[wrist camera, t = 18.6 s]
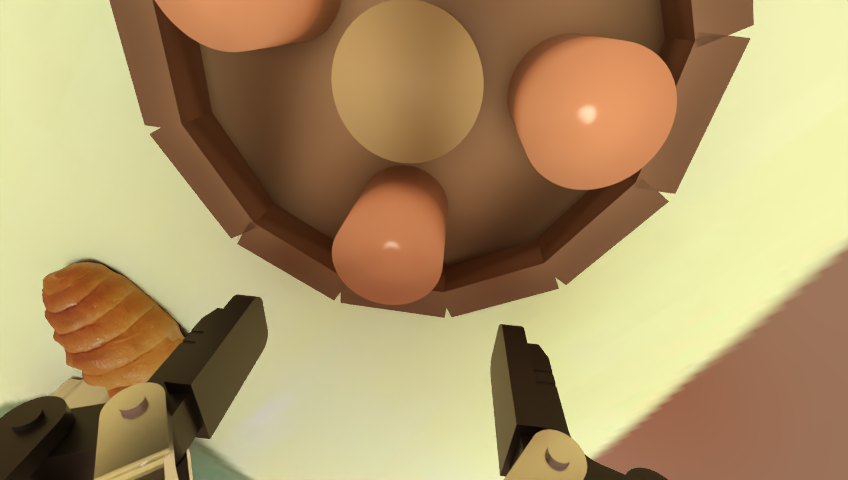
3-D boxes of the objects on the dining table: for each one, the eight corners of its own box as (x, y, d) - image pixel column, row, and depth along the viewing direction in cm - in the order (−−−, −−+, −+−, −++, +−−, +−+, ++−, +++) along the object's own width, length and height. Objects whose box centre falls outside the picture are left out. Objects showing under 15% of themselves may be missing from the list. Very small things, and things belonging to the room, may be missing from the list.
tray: (223, 248, 21) (182, 287, 18) (95, -355, 10) (-54, -503, 7) (586, 299, 20) (607, 348, 17) (833, -293, 10) (996, -431, 7)
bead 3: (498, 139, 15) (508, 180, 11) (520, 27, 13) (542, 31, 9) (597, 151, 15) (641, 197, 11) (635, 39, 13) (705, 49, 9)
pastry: (41, 268, 23) (-28, 308, 20) (124, 244, 22) (64, 285, 19) (139, 369, 28) (96, 417, 24) (214, 356, 26) (179, 405, 23)
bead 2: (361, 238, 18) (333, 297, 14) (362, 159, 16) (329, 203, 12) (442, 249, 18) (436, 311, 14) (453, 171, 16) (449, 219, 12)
